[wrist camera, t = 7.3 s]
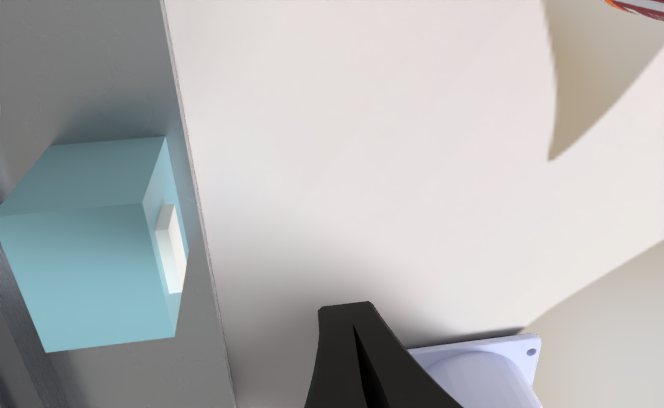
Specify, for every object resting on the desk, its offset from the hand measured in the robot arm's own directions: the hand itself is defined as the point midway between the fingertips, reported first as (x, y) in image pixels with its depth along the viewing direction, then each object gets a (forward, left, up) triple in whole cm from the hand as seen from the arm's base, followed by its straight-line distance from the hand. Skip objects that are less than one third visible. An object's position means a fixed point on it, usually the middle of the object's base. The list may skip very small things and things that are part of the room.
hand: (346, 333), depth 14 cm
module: (0, +7, -8) cm, 11 cm away
